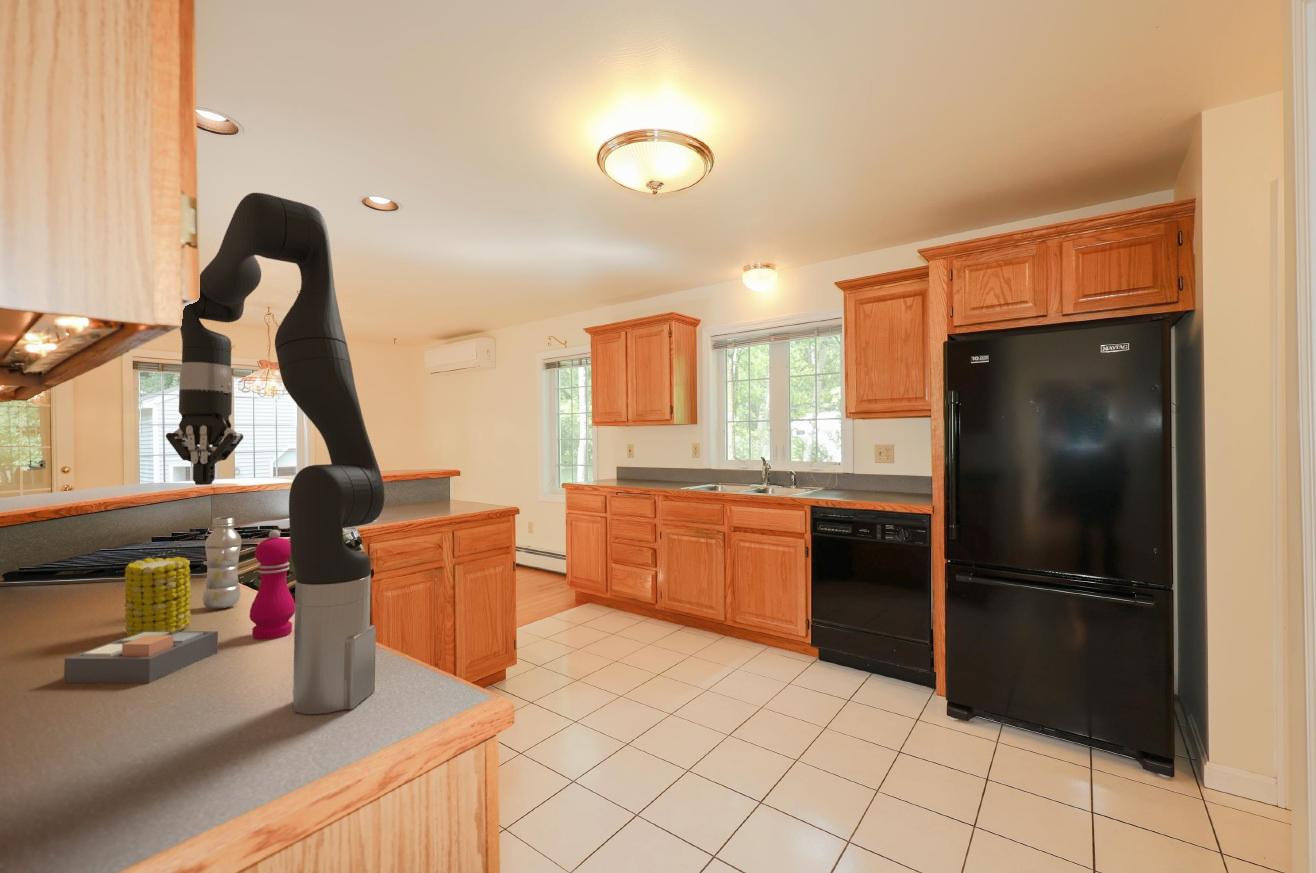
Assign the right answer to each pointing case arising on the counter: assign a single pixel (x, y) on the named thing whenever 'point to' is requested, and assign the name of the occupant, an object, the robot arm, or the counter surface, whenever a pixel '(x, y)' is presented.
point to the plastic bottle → (222, 565)
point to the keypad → (139, 662)
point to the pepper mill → (272, 590)
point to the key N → (105, 650)
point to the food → (157, 595)
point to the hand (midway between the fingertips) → (203, 484)
